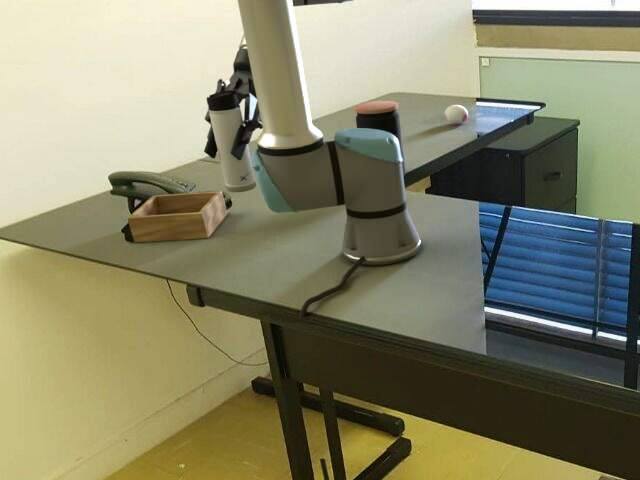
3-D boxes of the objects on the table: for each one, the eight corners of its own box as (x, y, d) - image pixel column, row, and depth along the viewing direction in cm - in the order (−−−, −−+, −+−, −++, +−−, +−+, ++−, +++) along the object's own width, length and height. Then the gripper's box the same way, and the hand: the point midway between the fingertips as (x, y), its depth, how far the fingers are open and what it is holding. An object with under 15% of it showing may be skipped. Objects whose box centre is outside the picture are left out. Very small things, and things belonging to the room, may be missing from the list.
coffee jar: (399, 184, 195) (390, 109, 186) (358, 184, 197) (347, 110, 188) (411, 172, 204) (403, 100, 194) (371, 172, 206) (362, 101, 197)
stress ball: (470, 132, 252) (472, 112, 252) (464, 123, 244) (466, 102, 244) (447, 131, 253) (450, 111, 254) (440, 122, 246) (443, 101, 246)
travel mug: (253, 191, 166) (233, 92, 156) (223, 193, 166) (200, 94, 156) (261, 183, 171) (241, 86, 161) (231, 184, 172) (210, 88, 161)
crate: (208, 238, 169) (201, 213, 166) (134, 242, 169) (127, 218, 166) (227, 214, 183) (222, 190, 180) (159, 218, 183) (152, 195, 180)
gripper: (302, 69, 166) (270, 167, 162) (230, 68, 173) (198, 162, 169) (282, 46, 159) (248, 148, 155) (208, 46, 166) (174, 144, 162)
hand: (222, 155), depth 162 cm, fingers closed on travel mug, 6 cm apart
